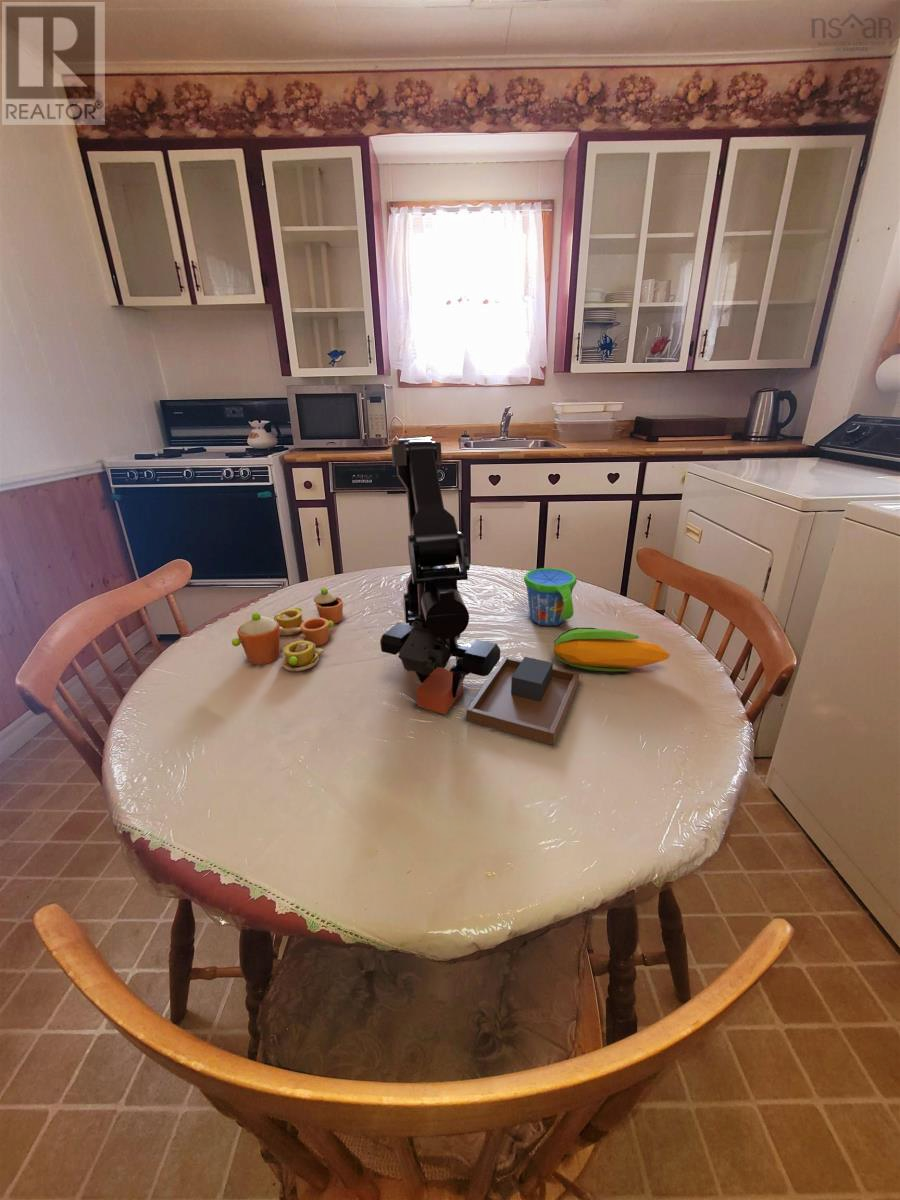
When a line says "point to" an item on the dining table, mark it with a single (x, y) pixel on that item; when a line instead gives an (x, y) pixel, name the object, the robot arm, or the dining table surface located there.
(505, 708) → the tray
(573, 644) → the corn
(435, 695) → the orange red rectangular block
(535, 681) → the dark grey rectangular block
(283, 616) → the toy tea set
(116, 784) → the dining table surface
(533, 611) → the snack cup
